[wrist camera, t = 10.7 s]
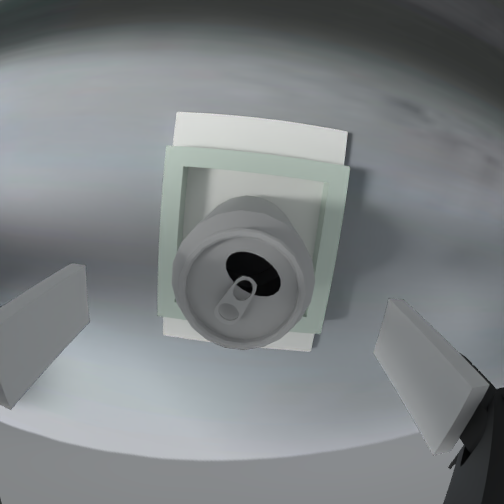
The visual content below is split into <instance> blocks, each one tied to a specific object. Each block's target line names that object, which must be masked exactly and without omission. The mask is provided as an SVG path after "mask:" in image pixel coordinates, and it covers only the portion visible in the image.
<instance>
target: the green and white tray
mask: <svg viewBox="0 0 504 504" xmlns="http://www.w3.org/2000/svg"><path fill="white" fill-rule="evenodd" d="M347 134H348V132H347V131H341V130H336V129H331V128H325V127H320V126H314V125H307V124H301V123H294V122H287V121H280V120H272V119H264V118H255V117H245V116H235V115H223V114H209V113H191V112H177V115H176V123H175V131H174V140H173V146H166V154H165V164H164V174H163V186H162V198H161V213H160V230H159V252H158V294H157V316H162V317H163V335H165V336H171V337H177V338H184V339H191V340H198V341H205V342H211V341H208V340H206V339H205V338H204V337H203V336H202V335H200V334H199V333H198V332H197V331H195V330H194V329H193V328H192V327H191V325H190V324H189V322H188V321H187V319H186V318H185V316H184V315H183V313H182V311H181V309H180V308H179V306H178V305H177V302H176V298H175V295H174V291H173V287H172V268H173V261H174V259H175V256H176V254H177V251H178V249H179V247H180V244H181V242H182V241H183V240H184V239H185V238H186V237H187V236H188V234H189V233H190V232H191V231H192V230H193V229H194V228H195V227H196V226H197V225H198V224H199V223H200V222H201V221H202V220H203V219H204V218H205V217H206V216H207V215H208V214H209V213H210V212H211V211H213V210H214V209H215V208H216V207H217V206H218V205H220V204H221V203H223V202H225V201H227V200H229V199H231V198H235V197H240V196H245V195H247V196H255V197H261V198H263V199H265V200H268V201H270V202H272V203H274V204H275V205H276V206H277V207H278V208H279V209H280V210H281V211H282V212H284V213H285V214H286V216H287V217H288V219H289V220H290V222H291V223H292V225H293V227H294V228H295V230H296V231H297V233H298V234H299V236H300V237H301V239H302V240H303V242H304V244H305V246H306V248H307V250H308V252H309V254H310V256H311V258H312V261H313V268H314V276H315V285H314V290H313V294H312V299H311V303H310V305H309V306H308V308H307V310H306V311H305V313H304V315H303V316H302V318H301V320H300V321H299V322H298V323H297V324H295V326H294V327H293V328H292V329H291V330H290V331H289V332H288V333H286V334H285V335H284V336H283V337H282V338H281V339H279V340H277V341H275V342H273V343H271V344H268V345H266V346H264V347H260V348H268V349H279V350H292V351H306V352H311V348H312V344H313V339H314V335H315V334H321V330H322V326H323V321H324V317H325V312H326V307H327V303H328V298H329V293H330V288H331V283H332V278H333V273H334V267H335V262H336V257H337V251H338V245H339V240H340V234H341V228H342V221H343V215H344V208H345V202H346V195H347V188H348V180H349V173H350V167H348V166H344V160H345V152H346V143H347Z"/></svg>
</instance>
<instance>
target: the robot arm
mask: <svg viewBox="0 0 504 504" xmlns="http://www.w3.org/2000/svg"><path fill="white" fill-rule="evenodd" d="M89 322H90V318H89V308H88V295H87V280H86V265H81V264H75V263H71V264H69V265H67V266H66V267H64V268H62V269H61V270H59V271H57V272H56V273H54V274H52V275H51V276H49V277H47V278H46V279H44V280H43V281H41V282H39V283H38V284H36V285H34V286H33V287H31V288H30V289H28V290H27V291H25V292H23V293H22V294H20V295H19V296H17V297H16V298H14V299H13V300H11V301H9V302H8V303H6V304H5V305H3V306H2V307H0V405H2V406H4V407H6V408H8V409H10V410H11V409H12V408H13V407H14V406H15V404H16V403H17V402H18V401H19V400H20V399H21V397H22V396H23V395H24V394H25V393H26V392H27V390H28V389H29V388H30V387H31V386H32V385H33V383H34V382H35V381H36V380H37V379H38V378H39V377H40V376H41V374H42V373H43V372H44V371H45V370H46V369H47V368H48V367H49V365H50V364H51V363H52V362H53V361H54V360H55V359H56V358H57V357H58V356H59V354H60V353H61V352H62V351H63V350H64V349H65V348H66V347H67V346H68V345H69V344H70V343H71V341H72V340H73V339H74V338H75V337H76V336H77V335H78V334H79V333H80V332H81V331H82V330H83V329H84V328H85V327H86V326H87V325H88V324H89ZM373 354H374V355H375V357H376V358H377V360H378V362H379V363H380V365H381V367H382V368H383V370H384V371H385V373H386V375H387V376H388V378H389V380H390V381H391V383H392V385H393V386H394V388H395V390H396V391H397V393H398V395H399V397H400V398H401V400H402V402H403V403H404V405H405V407H406V408H407V410H408V412H409V414H410V415H411V417H412V419H413V421H414V422H415V424H416V426H417V428H418V429H419V431H420V433H421V435H422V436H423V438H424V440H425V442H426V444H427V445H428V447H429V449H430V451H431V452H432V454H433V455H437V454H442V453H446V452H449V451H451V450H452V449H453V447H454V446H455V444H456V443H457V441H458V439H459V438H460V439H461V440H462V442H463V444H464V446H463V447H462V449H461V450H460V451H459V453H458V454H457V456H456V457H455V459H454V460H453V461H452V462H451V464H450V465H449V467H448V468H450V469H451V468H452V466H453V465H454V464H456V465H455V469H454V472H453V476H452V479H451V482H450V485H449V488H448V491H447V494H446V497H445V500H444V503H443V504H504V388H499V389H496V388H495V387H494V386H493V385H492V384H491V383H490V382H489V381H488V379H487V378H486V377H485V376H484V375H483V374H482V373H481V372H480V371H478V369H477V368H476V367H475V366H474V365H472V363H471V362H470V361H469V360H468V359H467V358H466V357H465V356H463V355H462V354H460V353H459V352H458V351H457V350H456V349H455V348H454V347H453V346H452V345H451V344H450V343H449V342H448V341H447V340H446V339H445V338H444V337H443V336H441V335H440V334H439V333H438V332H437V331H436V330H435V329H434V328H433V327H432V326H431V325H430V324H429V323H428V322H427V321H426V320H425V319H424V318H423V317H422V316H421V315H420V314H419V313H418V312H416V311H415V310H414V309H413V308H412V307H411V306H410V305H409V304H408V303H407V302H406V301H405V300H404V299H391V298H389V300H388V303H387V307H386V311H385V315H384V318H383V322H382V325H381V329H380V332H379V335H378V339H377V342H376V345H375V348H374V351H373ZM0 504H2V503H1V499H0Z"/></svg>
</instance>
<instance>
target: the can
mask: <svg viewBox="0 0 504 504" xmlns="http://www.w3.org/2000/svg"><path fill="white" fill-rule="evenodd" d="M314 285H315V276H314V268H313V261H312V258H311V256H310V254H309V252H308V250H307V248H306V246H305V244H304V242H303V240H302V239H301V237H300V236H299V234H298V233H297V231H296V230H295V228H294V227H293V225H292V223H291V222H290V220H289V219H288V217H287V216H286V214H285V213H284V212H282V211H281V210H280V209H279V208H278V207H277V206H276V205H275V204H274V203H272V202H270V201H268V200H265V199H263V198H261V197H255V196H247V195H245V196H240V197H235V198H231V199H229V200H227V201H225V202H223V203H221V204H220V205H218V206H217V207H216V208H215V209H214V210H213V211H211V212H210V213H209V214H208V215H207V216H206V217H205V218H204V219H203V220H202V221H201V222H200V223H199V224H198V225H197V226H196V227H195V228H194V229H193V230H192V231H191V232H190V233H189V234H188V236H187V237H186V238H185V239H184V240H183V241H182V242H181V244H180V247H179V249H178V251H177V254H176V256H175V259H174V261H173V268H172V287H173V291H174V295H175V298H176V302H177V305H178V306H179V308H180V309H181V311H182V313H183V315H184V316H185V318H186V319H187V321H188V322H189V324H190V325H191V327H192V328H193V329H194V330H195V331H197V332H198V333H199V334H200V335H202V336H203V337H204V338H205V339H206V340H208V341H211V342H213V343H215V344H218V345H220V346H222V347H225V348H232V349H240V350H247V349H254V348H260V347H264V346H266V345H268V344H271V343H273V342H275V341H277V340H279V339H281V338H282V337H283V336H284V335H285V334H286V333H288V332H289V331H290V330H291V329H292V328H293V327H294V326H295V324H297V323H298V322H299V321H300V320H301V318H302V316H303V315H304V313H305V311H306V310H307V308H308V306H309V305H310V303H311V299H312V294H313V290H314Z"/></svg>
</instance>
